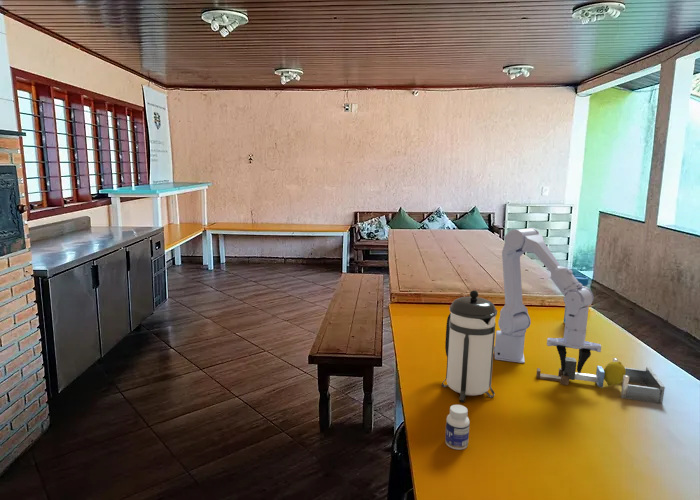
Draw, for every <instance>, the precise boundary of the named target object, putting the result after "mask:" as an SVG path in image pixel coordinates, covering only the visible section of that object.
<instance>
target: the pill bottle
mask: <svg viewBox="0 0 700 500" xmlns="http://www.w3.org/2000/svg"><path fill="white" fill-rule="evenodd" d="M449 407H450V408H449V414H447V415H446V421H445V441H444V442H445V444H446V446H448V447H449V448H450V449H453V450H465V449H467V447H468V445H469V438H470V437H469V435H470V419H469V416H468V412H469V411H468V408H467V407H466V406H464V405H462V404H452V405H451V406H449Z"/></svg>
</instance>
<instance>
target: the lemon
mask: <svg viewBox="0 0 700 500" xmlns="http://www.w3.org/2000/svg"><path fill="white" fill-rule="evenodd" d="M625 368H626V366H625V365H624V364H622V362H621V361H618V362H613V361H610V362H609V363H607V365H605V367H604V368H603V370H604V372H605V374H604V382H605V383H606V385H608V386H618V385H619V384H620V385H621V384H622V383H623V376H624V375H625V374H626V370H625Z"/></svg>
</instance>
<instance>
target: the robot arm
mask: <svg viewBox="0 0 700 500" xmlns="http://www.w3.org/2000/svg"><path fill="white" fill-rule="evenodd" d="M503 245H504V246H503V248H502V251H501V259H502V272H503V273H502V275H503V288H504V289H503V290H504V306H502V308H501V310H500V312H499V314H500V315H499V319H498V322H497V323H498V328H499V329H500V330H495V339H494V351H493V353H494V360H496V361H503V362H504V361H505V362H512V363H519V364H525V355H524V350H525V339H526V338H525V337H526V333H527V329H529V328H530V326H531V324H532V323H531V322H532V320H531V316H530V315H529V313H528V307H526V305H524V303H523V289H522V286H523V285H522V273H521V272H522V271H521V256H522V255H524V254H525V253H530V254H533V255H535V256H536V258H537V259H538V260H539V261H540V262H541V264H542V265H544V267H545V268H546V269H547V270H548V271H549V272H550V277H549V278H550V280H551V281H552V283H554V285H555V286H556V287H557V289H558V290H559V291H560V293H561V294H562V295H563V301H564V305H566V311H567V312H566V322H565V323H564V331H563V337H556V338H555V337H547V339H546V345H547V347H556V349H557V353H558V355H559V360H560V368H561V370H562V371H564V369H565V359H566V357H567V354H568V353H567V348H569V349H573V350H575V349H576V350H578V360H577V364H576V371H577V372H578V373H582V370H583V367H584V365H585V364H586V362H587V361H588V359H589V358H590V357H591V355H592V352H591V351H593V352H597V353H601V352H602V345H601V343H597V342H596V343H595V342H591V341H586V335H587V327H588V326H587V325H588V317H589V309H590V306H591V305H592V303H594V293H593V291H592V290H591V288H589V287H588V286H586V287H584V286H583V285H582V284H581V283H579V282H578V280H577V279H576V278H575V277H574V275H575V274H573V273H574V272H573V270H572V269H571V268H568V267H566V266H562V265H561V264H560V263H559V261H558V260H557V259H556V257H555V255H554V254H553V253H552V251H551V250H550V249H549V247H548V246H547V244H546V243H545V241H544V236H543V235H542V234H541V233H540V232H539V231H538V229H536V228H535V227H528V228H519V229H518V228H517V229H511V230H510V231H508V232H507V234H505V235H504V244H503ZM586 306H587V307H586Z"/></svg>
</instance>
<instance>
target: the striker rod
mask: <svg viewBox="0 0 700 500" xmlns="http://www.w3.org/2000/svg"><path fill="white" fill-rule="evenodd" d="M577 364H578V361H577V360H576V358H575V357H570V356H566V359H565V369H564V371H563V373H562V375H564V376H569V381H570V380H571V381H575V380H578V381H585V382H591V383H592V382H593V383H596V385H597V387H598V388H604V382H605V380H604V374H605V372H604V368H603V367H602V365H597V366H596V372H595V373H596V374H592V373H583V372H581V373H578V372H576V371H577Z"/></svg>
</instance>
